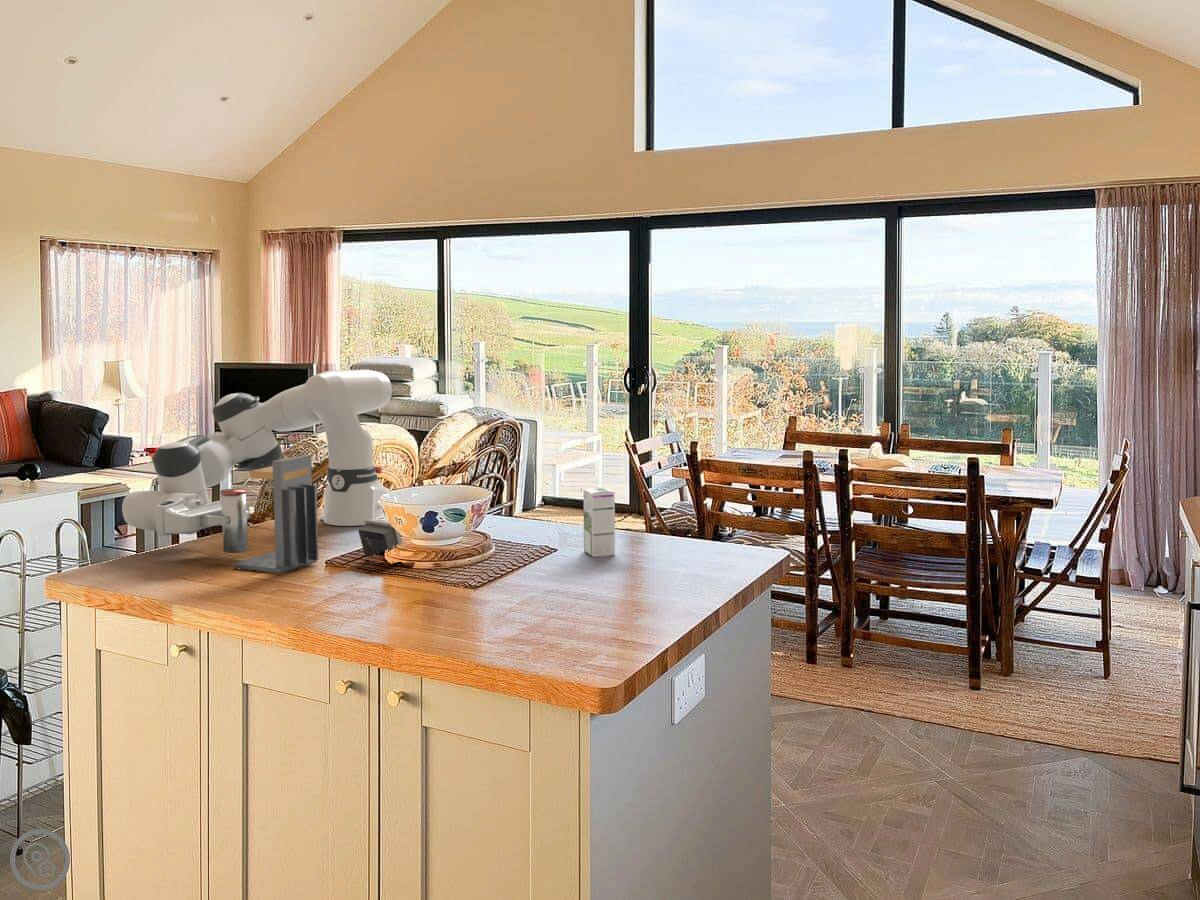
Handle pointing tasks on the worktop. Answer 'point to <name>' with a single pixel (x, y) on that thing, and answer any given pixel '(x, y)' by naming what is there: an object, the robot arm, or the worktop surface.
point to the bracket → (289, 517)
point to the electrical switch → (378, 537)
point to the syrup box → (599, 522)
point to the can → (234, 520)
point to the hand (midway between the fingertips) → (237, 518)
